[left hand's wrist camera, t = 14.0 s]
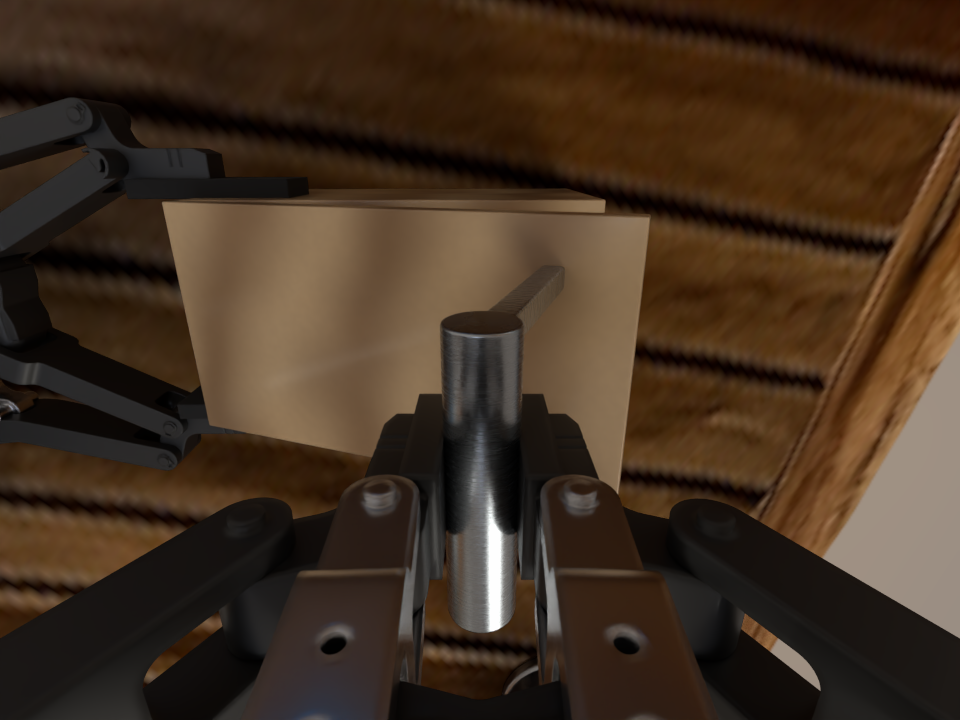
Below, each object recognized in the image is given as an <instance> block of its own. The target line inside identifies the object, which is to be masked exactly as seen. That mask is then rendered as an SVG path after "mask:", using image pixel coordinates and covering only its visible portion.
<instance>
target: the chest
mask: <svg viewBox="0 0 960 720" xmlns="http://www.w3.org/2000/svg"><path fill="white" fill-rule="evenodd" d="M184 200H185V201H219V202H253V203H287V204H321V205H355V206H389V207H423V208H457V209H490V210H524V211H558V212H592V213H604V212H605V200H604V199H600V198H597V197H593V196H590V195H586V194H583V193H579V192H576V191H572V190H569V189H309V194H307V195H302V196H297V197H292V198H191V199H184Z"/></svg>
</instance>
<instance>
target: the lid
mask: <svg viewBox="0 0 960 720" xmlns="http://www.w3.org/2000/svg"><path fill="white" fill-rule="evenodd" d="M162 205H163V210H164V215H165V219H166V224H167V229H168V233H169V238H170V243H171V247H172V252H173V257H174V261H175V266H176V271H177V275H178V280H179V285H180V289H181V294H182V299H183V304H184V308H185V313H186V318H187V322H188V327H189V332H190V336H191V341H192V346H193V350H194V355H195V360H196V364H197V369H198V374H199V378H200V383H201V388H202V392H203V397H204V402H205V406H206V411H207V416H208V420H209V425H211V426H216V427H221V428H226V429H231V430H236V431H241V432H247V433H252V434H257V435H262V436H267V437H272V438H277V439H282V440H287V441H292V442H297V443H302V444H307V445H312V446H317V447H322V448H327V449H332V450H337V451H342V452H347V453H352V454H357V455H362V456H367V457H372V456H373V453H374V451H375V449H376V445H377V443H378V440H379V438H380V434H381V432H382V429H383V426H384V424H385V423H386V422H387V421H388V420H390V419H391V418H392V417H393V416H395V415H396V414H397V413H414V412H415V408H416V405H417V401H418V397H419V394H442V419H443V436H444V462H445V496H446V555H447V588H448V610H449V613H450V615H451V617H452V619H453V620H454V621H455V622H456V624H458V625H459V626H460V627H462V628H463V629H465V630H468V631H470V632H475V633H489V632H493V631H496V630H498V629H500V628H502V627H504V626H505V625H506V624H507V623H508V622H509V621H510V619H511V618H512V616H513V614H514V612H515V604H516V574H517V549H518V541H517V504H518V472H519V440H520V436H521V421H522V394H543V395H544V398H545V402H546V405H547V409H548V413H549V414H567V415H568V416H569V417H570V418H572V419H573V420H574V421H575V422H577V423H578V424H579V427H580V429H581V432H582V435H583V439H584V440H585V443H586V445H587V449H588V451H589V453H590V456H591V459H592V461H593V464H594V467H595V469H596V472H597V474H598V477H599V480H601V481H603V482H605V483H607V484H608V485H609V486H611V487H612V488H613V489H614V490H615V491H616V492H617V494H619V486H620V477H621V469H622V460H623V451H624V443H625V434H626V425H627V417H628V408H629V400H630V391H631V382H632V374H633V365H634V356H635V348H636V339H637V331H638V322H639V313H640V305H641V296H642V287H643V279H644V270H645V261H646V253H647V244H648V236H649V227H650V218H651V216H650V214H626V213H592V212H558V211H524V210H490V209H457V208H423V207H389V206H355V205H321V204H287V203H253V202H219V201H185V200H178V201H165V202H162Z"/></svg>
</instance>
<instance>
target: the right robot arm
mask: <svg viewBox="0 0 960 720" xmlns="http://www.w3.org/2000/svg"><path fill="white" fill-rule="evenodd" d="M130 128H131V119H130V116H129V114H128V113H127V111H126V110H125V109H124V108H123V107H121V106H119V105H116V104H112V103H105V102H99V101H93V100H86V99H80V98H66V99H63V100H59V101H56V102H53V103H49V104H46V105H43V106H39V107H36V108H32V109H29V110H26V111H22V112H19V113H16V114H12V115H9V116H6V117H2V118H0V170H1V169H5V168H8V167H12V166H15V165H19V164H22V163H26V162H29V161H33V160H36V159H40V158H43V157H46V156H50V155H53V154H57V153H60V152H64V151H67V150H71V149H74V148H78V147H81V146H85V145H87V147H88V148H84V149H81V150H82V151H83V152H90V153H89V154H88V155H86V156H85V157H83V158H82V159H80V160H79V161H77V162H76V163H74V164H73V165H71V166H70V167H68V168H67V169H65V170H64V171H62V172H60V173H59V174H57V175H56V176H54V177H53V178H51V179H50V180H48V181H47V182H45V183H44V184H42V185H41V186H39V187H38V188H36V189H35V190H33V191H32V192H30V193H29V194H27V195H26V196H24V197H23V198H21V199H19V200H18V201H16V202H15V203H13V204H12V205H10V206H9V207H7V208H6V209H4V210H3V211H1V212H0V444H1V443H11V442H23V443H28V444H33V445H38V446H43V447H49V448H54V449H59V450H64V451H69V452H74V453H79V454H84V455H89V456H95V457H100V458H105V459H110V460H115V461H120V462H125V463H130V464H135V465H141V466H146V467H151V468H156V469H161V470H172V469H174V468H175V467H176V466H177V465H178V464H179V463H180V462H181V461H182V460H183V459H184V458H185V457H186V456H187V455H188V454H189V453H190V452H191V451H192V450H193V449H194V448H195V446H196V445H197V444H198V443H199V442H200V441H201V434H224V433H226V434H233V433H235V434H245V433H247V432H241V431H236V430H231V429H226V428H221V427H216V426H211V425H209V420H208V416H207V411H206V406H205V402H204V397H203V392H202V388H201V385H200V386H199V387H198V388H197V389H196V390H194V391H193V392H192V393H190V392H188V391H185V390H183V389H181V388H178V387H176V386H174V385H171V384H169V383H166V382H164V381H162V380H159V379H157V378H155V377H152V376H150V375H148V374H145V373H143V372H141V371H138V370H136V369H134V368H131V367H129V366H127V365H124V364H122V363H119V362H117V361H115V360H112V359H110V358H108V357H105V356H103V355H101V354H98V353H96V352H94V351H91V350H89V349H87V348H84V347H82V346H80V345H79V340H78V339H77V338H75V337H73V336H71V335H69V334H66V333H64V332H61V331H59V330H57V329H54V328H52V324H51V321H50V317H49V314H48V312H47V310H46V308H45V307H44V305H43V303H42V302H41V300H40V298H39V296H38V279H37V276H36V273H35V270H34V267H33V264H26V263H25V262H24V260H26V259H28V258H29V257H31V256H32V255H34V254H35V253H37V252H39V251H40V250H42V249H43V248H45V247H47V246H48V245H49V244H50V243H49V241H50V240H52V239H54V238H55V237H57V236H58V235H60V234H61V233H63V232H65V231H66V230H68V229H69V228H71V227H72V226H74V225H76V224H77V223H79V222H80V221H82V220H84V219H85V218H87V217H88V216H90V215H91V214H93V213H95V212H96V211H98V210H99V209H101V208H102V207H104V206H106V205H107V204H109V203H110V202H112V201H114V200H115V199H117V198H118V197H120V196H121V195H123V194H125V193H126V192H127V196H128V199H191V198H292V197H297V196H302V195H307V194H309V188H308V180H307V177H225V172H224V166H223V160H222V154H220V153H218V152H215V151H213V150H210V149H197V148H147V147H145V146H143V145H142V144H140V143H139V142H138V141H137V139H136V138H135V136H134V135H133V133H132V131H131V130H130ZM2 379H5V380H7V381H10V382H12V383H15V384H20V385H29V384H36V385H39V386H42V387H44V388H47V389H49V390H52V391H54V392H57V393H59V394H62V395H64V396H66V397H69V398H71V399H74V400H76V401H79V402H81V403H84V404H86V405H84V404H79V403H75V402H70V401H65V400H58V399H39V398H38V395H37V394H36V393H35V392H33V391H29V392H27V393H23V392H18V391H13V390H10V389H9V388H7V387H6V386H5V385H4V384H3V383H2V381H1V380H2Z"/></svg>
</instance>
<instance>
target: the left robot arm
mask: <svg viewBox="0 0 960 720" xmlns="http://www.w3.org/2000/svg"><path fill="white" fill-rule="evenodd" d="M445 541H446V496H445V462H444V436H443V419H442V394H419V397H418V401H417V405H416V408H415V412H414V413H397V414H396V415H395V416H393V417H392V418H391V419H390V420H388V421H387V422H386V423H385V424H384V426H383V429H382V432H381V434H380V438H379V440H378V443H377V445H376V449H375V451H374V453H373V456H372V459H371V462H370V464H369V467H368V470H367V473H366V475H365V478H364V479H361V480H359V481H357V482H355V483H353V484H352V485H351V486H349V487H348V488H347V489H346V490H345V491H344V492H343V494H342V496H341V498H340V501H339V504H338V507H337V508H336V509H334V510H331V511H328V512H325V513H321V514H317V515H312V516H307V517H303V518H298V519H293V516H292V510H291V508H290V507H289V506H288V504H286V503H285V502H283V501H281V500H278V499H274V498H253V499H248V500H243V501H240V502H237V503H234V504H232V505H229V506H227V507H225V508H223V509H222V510H220V511H218V512H216V513H215V514H213V515H211V516H210V517H208V518H206V519H204V520H203V521H201V522H199V523H198V524H196V525H194V526H192V527H191V528H189V529H187V530H186V531H184V532H182V533H180V534H179V535H177V536H175V537H174V538H172V539H170V540H168V541H167V542H165V543H163V544H162V545H160V546H158V547H156V548H155V549H153V550H151V551H150V552H148V553H146V554H144V555H143V556H141V557H139V558H138V559H136V560H134V561H132V562H131V563H129V564H127V565H126V566H124V567H122V568H120V569H119V570H117V571H115V572H114V573H112V574H110V575H108V576H107V577H105V578H103V579H102V580H100V581H98V582H96V583H95V584H93V585H91V586H90V587H88V588H86V589H84V590H83V591H81V592H79V593H78V594H76V595H74V596H72V597H71V598H69V599H67V600H66V601H64V602H62V603H60V604H59V605H57V606H55V607H54V608H52V609H50V610H48V611H47V612H45V613H43V614H42V615H40V616H38V617H36V618H35V619H33V620H31V621H30V622H28V623H26V624H24V625H23V626H21V627H19V628H18V629H16V630H14V631H12V632H11V633H9V634H7V635H6V636H4V637H2V638H0V720H960V638H958V637H956V636H954V635H953V634H951V633H949V632H948V631H946V630H944V629H943V628H941V627H939V626H937V625H936V624H934V623H932V622H930V621H929V620H927V619H925V618H924V617H922V616H920V615H919V614H917V613H915V612H913V611H912V610H910V609H908V608H907V607H905V606H903V605H901V604H900V603H898V602H896V601H895V600H893V599H891V598H889V597H888V596H886V595H884V594H883V593H881V592H879V591H877V590H876V589H874V588H872V587H870V586H869V585H867V584H865V583H864V582H862V581H860V580H859V579H857V578H855V577H853V576H852V575H850V574H848V573H847V572H845V571H843V570H841V569H840V568H838V567H836V566H834V565H833V564H831V563H829V562H828V561H826V560H824V559H823V558H821V557H819V556H817V555H816V554H814V553H812V552H811V551H809V550H807V549H805V548H804V547H802V546H800V545H799V544H797V543H795V542H793V541H792V540H790V539H788V538H787V537H785V536H783V535H781V534H780V533H778V532H776V531H775V530H773V529H771V528H769V527H768V526H766V525H764V524H762V523H761V522H759V521H757V520H756V519H754V518H752V517H751V516H749V515H747V514H745V513H744V512H742V511H740V510H738V509H736V508H734V507H732V506H730V505H727V504H725V503H721V502H718V501H714V500H708V499H689V500H684V501H681V502H679V503H677V504H676V505H674V507H673V508H672V509H671V511H670V517H669V519H666V518H661V517H656V516H651V515H647V514H642V513H638V512H635V511H632V510H630V509H627V508H625V507H623V506H622V504H621V501H620V498H619V496H618V494H617V492H616V491H615V490H614V489H613V488H612V487H611V486H609V485H608V484H607V483H605V482H603V481H601V480H599V477H598V474H597V472H596V469H595V467H594V464H593V461H592V459H591V456H590V453H589V451H588V449H587V445H586V443H585V440H584V439H583V435H582V432H581V429H580V427H579V424H578V423H577V422H575V421H574V420H573V419H572V418H570V417H569V416H568V415H567V414H549V413H548V409H547V405H546V402H545V398H544V395H543V394H522V421H521V436H520V440H519V472H518V504H517V541H518V551H519V561H520V572H521V580H534V582H535V590H536V596H535V627H536V642H537V657H538V658H535V659H532V660H530V661H528V662H526V663H524V664H523V665H521V666H520V667H518V668H517V669H516V670H515V671H514V672H513V673H512V674H511V675H510V676H509V678H508V679H507V681H506V683H505V685H504V688H503V692H502V695H501V696H498V697H494V698H490V699H485V700H475V699H470V698H466V697H462V696H459V695H455V694H451V693H447V692H443V691H439V690H436V689H432V688H428V687H424V686H421V673H422V657H423V642H424V627H425V600H426V598H427V593H428V586H429V579H442V574H443V563H444V552H445ZM217 611H219V613H220V618H221V622H222V627H221V628H220V629H219V630H217V631H216V632H215V633H213V634H212V635H211V636H210V637H208V638H207V639H206V640H204V641H203V642H202V643H201V644H199V645H198V646H197V647H196V648H194V649H193V650H192V651H190V652H189V653H188V654H187V655H185V656H184V657H183V658H181V659H180V660H179V661H178V662H176V663H175V664H174V665H173V666H171V667H170V668H169V669H167V670H166V671H165V672H164V673H162V674H161V675H160V676H158V677H157V678H156V679H155V680H153V681H152V682H151V683H150V684H148V685H147V686H146V687H144V688H143V681H144V678H145V675H146V673H147V671H148V669H149V668H150V666H151V665H152V663H153V662H154V661H155V660H156V659H157V658H158V657H159V656H160V655H161V654H162V653H163V652H164V651H165V650H167V649H168V648H169V647H171V646H172V645H173V644H175V643H176V642H177V641H179V640H180V639H181V638H183V637H184V636H185V635H187V634H188V633H189V632H191V631H192V630H193V629H195V628H196V627H197V626H199V625H200V624H201V623H203V622H204V621H205V620H207V619H208V618H209V617H211V616H212V615H213V614H215V613H216V612H217ZM744 614H747V615H748V616H749V617H751V618H752V619H753V620H755V621H756V622H757V623H759V624H760V625H761V626H763V627H764V628H765V629H767V630H768V631H769V632H771V633H772V634H773V635H775V636H776V637H777V638H779V639H780V640H781V641H783V642H784V643H785V644H787V645H788V646H790V647H791V648H792V649H793V650H795V651H796V652H797V653H799V654H800V655H801V656H802V657H803V658H804V659H805V660H806V661H807V662H808V663H809V664H810V666H811V667H812V668H813V670H814V671H815V673H816V675H817V677H818V680H819V682H820V687H821V691H819V690H818V689H817V688H816V687H814V686H813V685H812V684H811V683H809V682H808V681H807V680H805V679H804V678H803V677H801V676H800V675H799V674H798V673H796V672H795V671H794V670H793V669H791V668H790V667H789V666H787V665H786V664H785V663H784V662H782V661H781V660H780V659H778V658H777V657H776V656H775V655H773V654H772V653H771V652H770V651H768V650H767V649H766V648H764V647H763V646H762V645H761V644H759V643H758V642H757V641H756V640H754V639H753V638H752V637H750V636H749V635H748V634H747V633H745V632H744V631H743V630H741V627H742V623H743V619H744ZM142 688H143V689H142Z"/></svg>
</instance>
